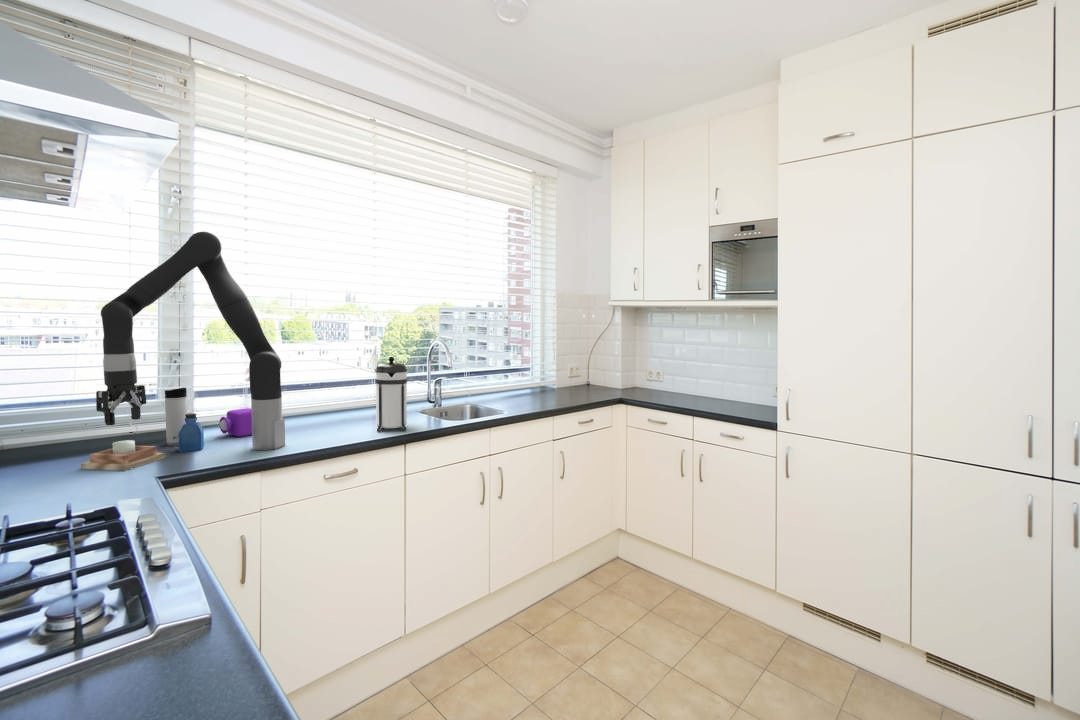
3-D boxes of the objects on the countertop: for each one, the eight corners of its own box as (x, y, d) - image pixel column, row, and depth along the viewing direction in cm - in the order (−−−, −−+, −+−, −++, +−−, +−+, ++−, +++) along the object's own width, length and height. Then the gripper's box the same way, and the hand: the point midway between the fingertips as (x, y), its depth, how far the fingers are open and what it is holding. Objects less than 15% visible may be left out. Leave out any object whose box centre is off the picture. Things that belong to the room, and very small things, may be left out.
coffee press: (419, 428, 209) (419, 356, 207) (389, 434, 195) (389, 358, 193) (391, 422, 218) (391, 354, 216) (360, 429, 205) (360, 356, 202)
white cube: (140, 456, 154) (139, 440, 154) (124, 460, 149) (124, 444, 149) (124, 455, 155) (123, 439, 154) (108, 460, 149) (107, 443, 149)
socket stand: (165, 457, 158) (164, 445, 158) (125, 470, 144) (125, 457, 144) (124, 456, 159) (123, 443, 159) (80, 468, 145) (80, 455, 145)
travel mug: (177, 446, 172) (175, 389, 171) (162, 445, 174) (159, 388, 172) (193, 442, 178) (191, 386, 177) (178, 441, 180) (176, 386, 178)
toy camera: (213, 437, 187) (212, 410, 186) (247, 430, 199) (246, 405, 198) (233, 440, 182) (232, 413, 182) (266, 432, 195) (265, 407, 194)
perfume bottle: (179, 452, 165) (177, 416, 164) (182, 448, 171) (181, 413, 170) (201, 450, 168) (200, 415, 167) (204, 446, 173) (202, 412, 173)
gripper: (110, 371, 142) (113, 427, 143) (151, 366, 156) (155, 417, 158) (85, 371, 143) (89, 427, 144) (129, 366, 157) (132, 417, 158)
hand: (123, 422), depth 151 cm, fingers open, 8 cm apart
